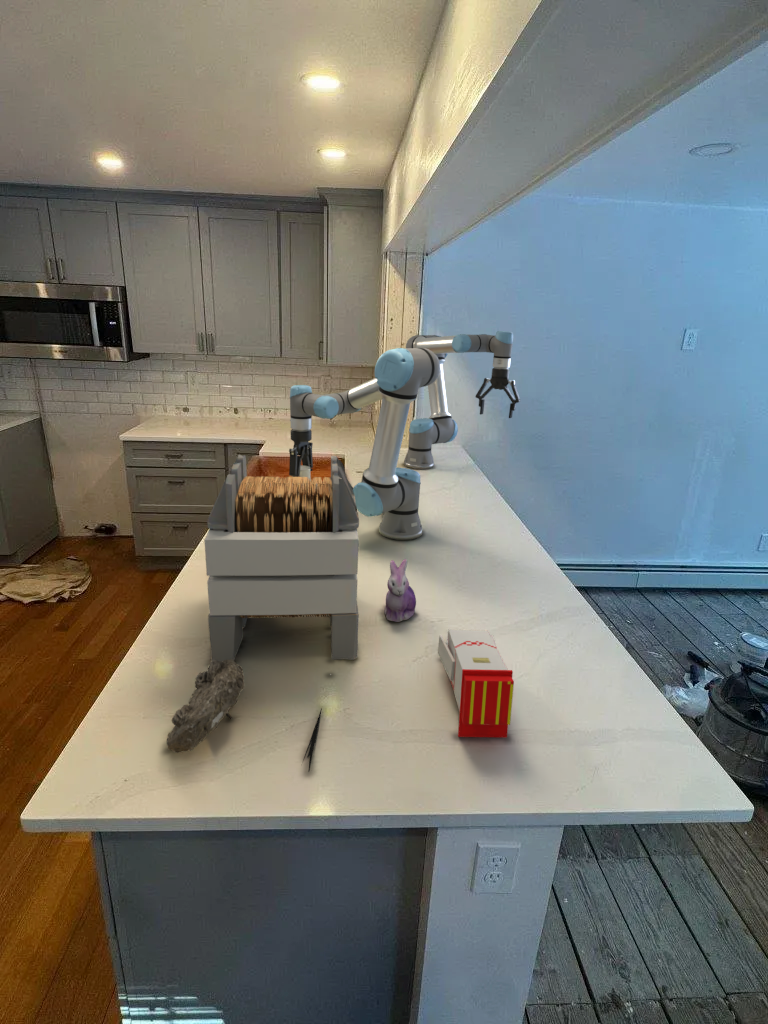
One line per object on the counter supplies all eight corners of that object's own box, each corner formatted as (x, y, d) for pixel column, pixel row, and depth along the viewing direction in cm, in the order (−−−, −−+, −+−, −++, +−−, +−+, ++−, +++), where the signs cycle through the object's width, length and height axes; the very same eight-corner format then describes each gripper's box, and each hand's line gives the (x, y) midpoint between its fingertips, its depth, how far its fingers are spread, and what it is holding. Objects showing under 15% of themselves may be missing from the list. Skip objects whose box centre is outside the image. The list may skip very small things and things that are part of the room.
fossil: (192, 660, 117) (244, 628, 112) (224, 691, 120) (276, 661, 115) (142, 746, 98) (202, 712, 93) (182, 779, 101) (242, 748, 96)
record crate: (230, 591, 155) (223, 445, 141) (350, 589, 159) (354, 447, 145) (208, 664, 123) (195, 486, 109) (358, 660, 127) (363, 487, 113)
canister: (291, 497, 215) (291, 465, 210) (309, 497, 216) (309, 465, 212) (293, 503, 209) (293, 470, 204) (311, 502, 210) (311, 469, 206)
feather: (331, 679, 122) (336, 673, 122) (307, 777, 96) (313, 769, 95) (324, 675, 122) (329, 669, 121) (298, 772, 95) (304, 764, 95)
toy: (488, 613, 130) (523, 677, 101) (484, 667, 133) (517, 744, 104) (435, 612, 130) (455, 676, 101) (432, 666, 133) (451, 743, 103)
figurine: (392, 627, 141) (395, 572, 136) (374, 608, 149) (376, 556, 144) (425, 619, 145) (429, 566, 140) (405, 601, 154) (408, 550, 149)
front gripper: (304, 423, 213) (304, 482, 221) (277, 433, 196) (279, 496, 204) (322, 425, 211) (322, 484, 219) (297, 435, 194) (297, 499, 201)
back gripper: (471, 366, 253) (466, 413, 260) (526, 371, 242) (520, 420, 249) (477, 365, 259) (472, 411, 266) (531, 369, 248) (525, 418, 255)
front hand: (301, 490), depth 211 cm, fingers closed on canister, 7 cm apart
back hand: (495, 416), depth 258 cm, fingers open, 13 cm apart
